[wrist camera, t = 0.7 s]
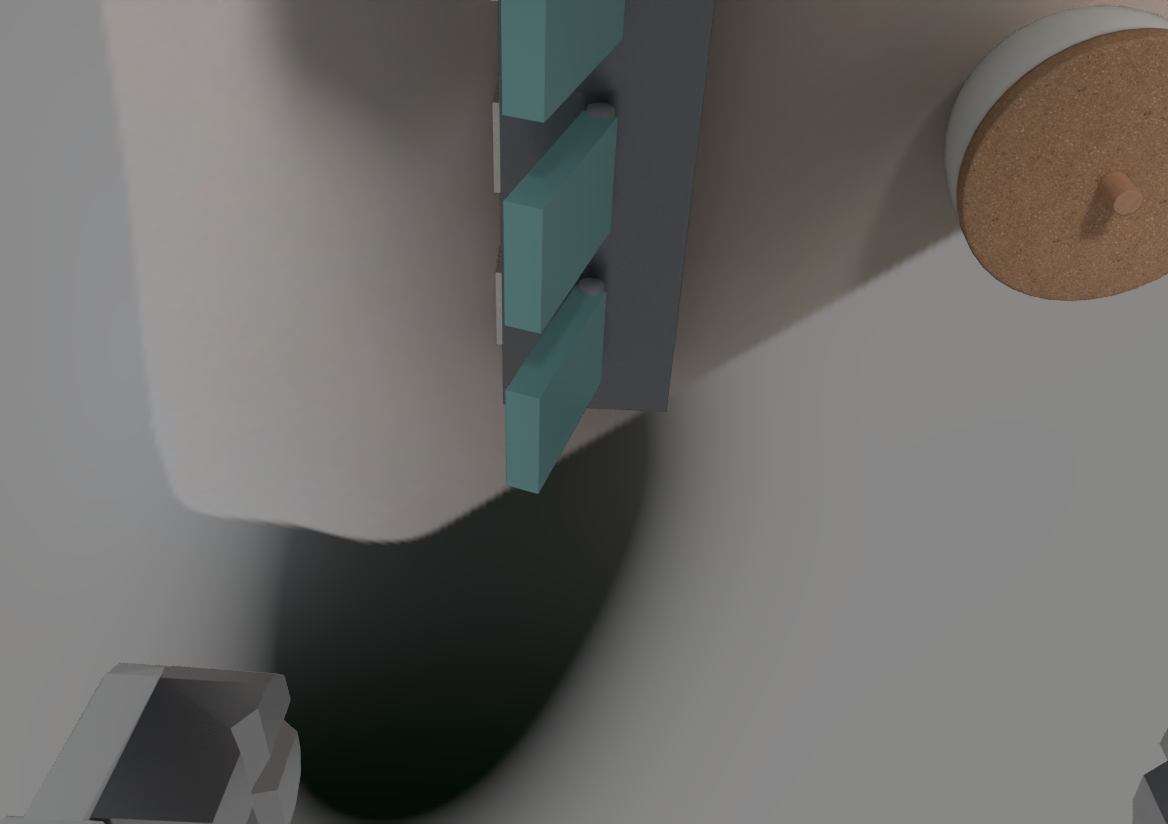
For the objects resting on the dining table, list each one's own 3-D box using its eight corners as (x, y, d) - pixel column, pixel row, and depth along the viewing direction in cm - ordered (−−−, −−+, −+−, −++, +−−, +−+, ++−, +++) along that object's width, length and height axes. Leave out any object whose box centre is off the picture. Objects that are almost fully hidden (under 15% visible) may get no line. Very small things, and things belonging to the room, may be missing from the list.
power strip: (495, -249, 37) (484, -231, 33) (731, -237, 37) (742, -218, 33) (503, 355, 54) (495, 405, 50) (664, 362, 54) (667, 413, 50)
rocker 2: (588, 100, 40) (503, 195, 34) (622, 106, 40) (542, 203, 34) (583, 222, 44) (504, 329, 38) (614, 229, 43) (540, 338, 37)
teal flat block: (580, 274, 45) (505, 385, 39) (610, 281, 45) (539, 394, 39) (576, 372, 49) (506, 488, 43) (604, 378, 49) (538, 497, 42)
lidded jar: (1235, 14, 42) (1365, 110, 35) (1080, 236, 48) (1162, 355, 41) (1000, -70, 40) (1085, 12, 33) (872, 172, 47) (919, 285, 39)
